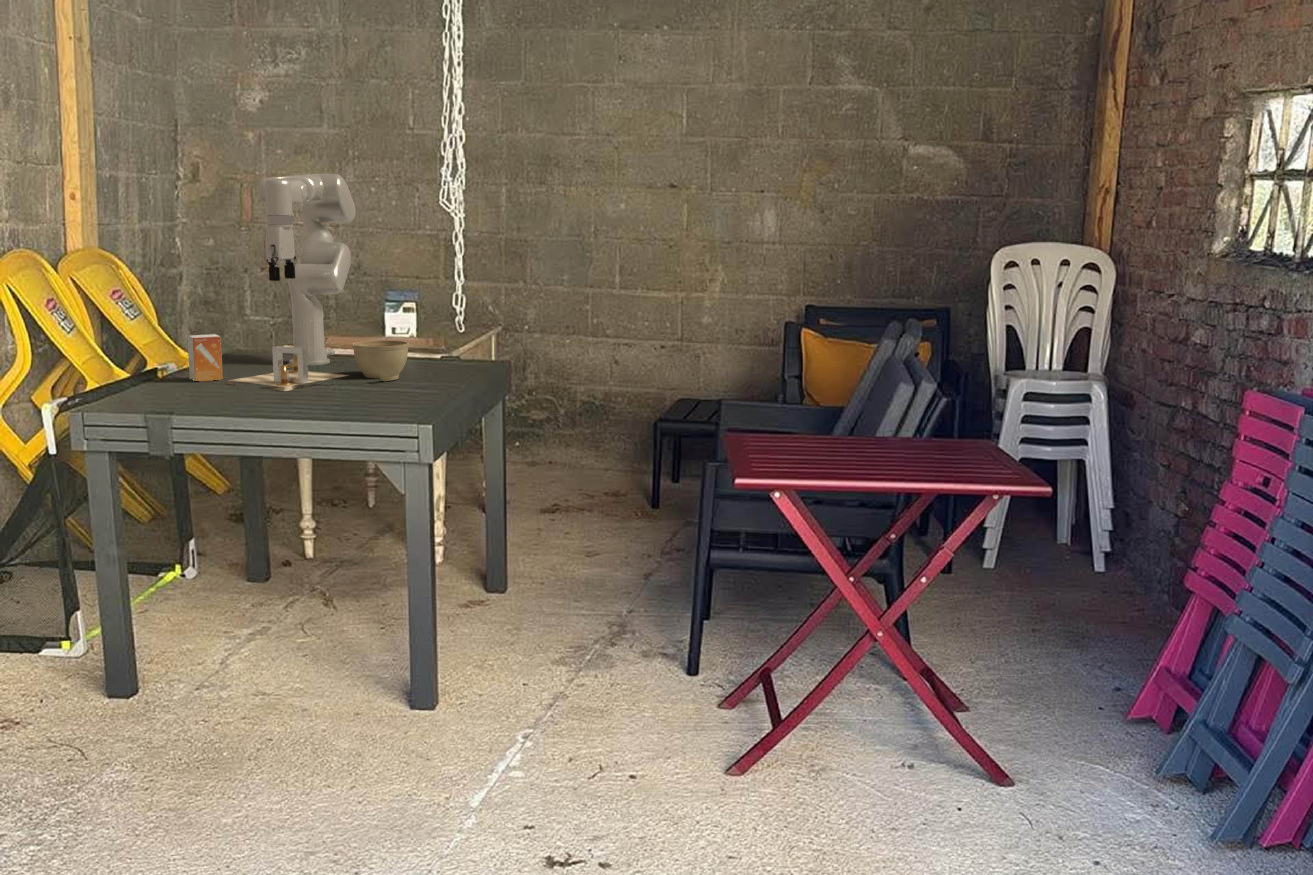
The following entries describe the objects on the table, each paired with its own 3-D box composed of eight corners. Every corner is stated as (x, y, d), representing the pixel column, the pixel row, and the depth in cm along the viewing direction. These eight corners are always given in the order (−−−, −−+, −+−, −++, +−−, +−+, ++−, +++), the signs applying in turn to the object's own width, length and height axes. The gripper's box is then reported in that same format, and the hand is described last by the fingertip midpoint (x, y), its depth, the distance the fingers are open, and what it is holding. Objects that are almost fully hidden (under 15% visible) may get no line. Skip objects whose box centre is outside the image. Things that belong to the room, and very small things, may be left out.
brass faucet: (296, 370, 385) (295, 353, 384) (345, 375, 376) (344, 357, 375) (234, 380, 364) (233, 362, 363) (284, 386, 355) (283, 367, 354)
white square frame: (278, 381, 364) (277, 346, 362) (308, 382, 363) (306, 347, 361) (273, 382, 361) (272, 347, 359) (303, 383, 360) (302, 348, 358)
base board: (294, 373, 387) (294, 369, 387) (349, 379, 377) (349, 375, 376) (227, 384, 365) (227, 380, 364) (284, 391, 354) (284, 386, 354)
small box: (194, 382, 368) (192, 337, 366) (189, 379, 373) (186, 335, 371) (223, 380, 373) (221, 335, 370) (217, 377, 378) (215, 333, 375)
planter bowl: (405, 374, 387) (404, 339, 385) (413, 382, 372) (412, 345, 370) (351, 376, 382) (350, 340, 380) (356, 384, 367) (355, 347, 365)
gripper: (281, 220, 387) (284, 277, 391) (253, 222, 371) (256, 281, 374) (304, 221, 386) (307, 278, 389) (277, 222, 369) (280, 282, 373)
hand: (282, 279), depth 382 cm, fingers open, 9 cm apart
